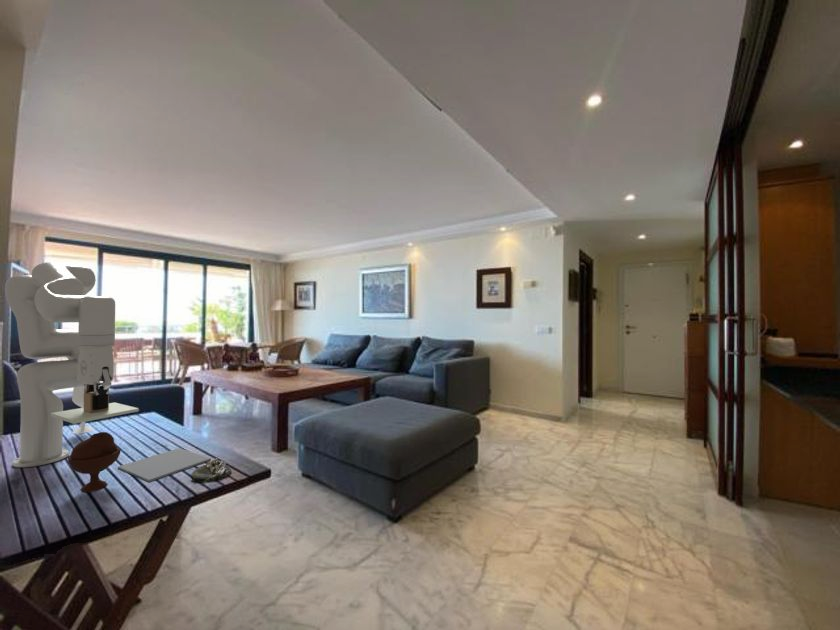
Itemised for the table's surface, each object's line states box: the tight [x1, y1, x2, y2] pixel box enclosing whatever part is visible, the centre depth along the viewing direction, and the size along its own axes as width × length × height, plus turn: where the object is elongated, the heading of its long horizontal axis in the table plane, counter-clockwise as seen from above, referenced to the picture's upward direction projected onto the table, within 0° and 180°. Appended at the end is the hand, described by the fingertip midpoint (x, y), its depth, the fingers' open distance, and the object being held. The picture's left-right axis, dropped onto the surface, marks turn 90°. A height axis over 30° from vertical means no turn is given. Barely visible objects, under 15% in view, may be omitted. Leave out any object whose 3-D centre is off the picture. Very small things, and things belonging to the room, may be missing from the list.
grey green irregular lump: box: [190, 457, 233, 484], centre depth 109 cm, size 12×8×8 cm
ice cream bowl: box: [66, 431, 122, 493], centre depth 100 cm, size 11×11×15 cm
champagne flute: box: [71, 386, 95, 435], centre depth 146 cm, size 7×7×24 cm
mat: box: [117, 447, 212, 483], centre depth 116 cm, size 18×18×1 cm
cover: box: [51, 392, 140, 425], centre depth 100 cm, size 14×14×6 cm
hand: (96, 407), depth 100 cm, fingers closed on cover, 4 cm apart
